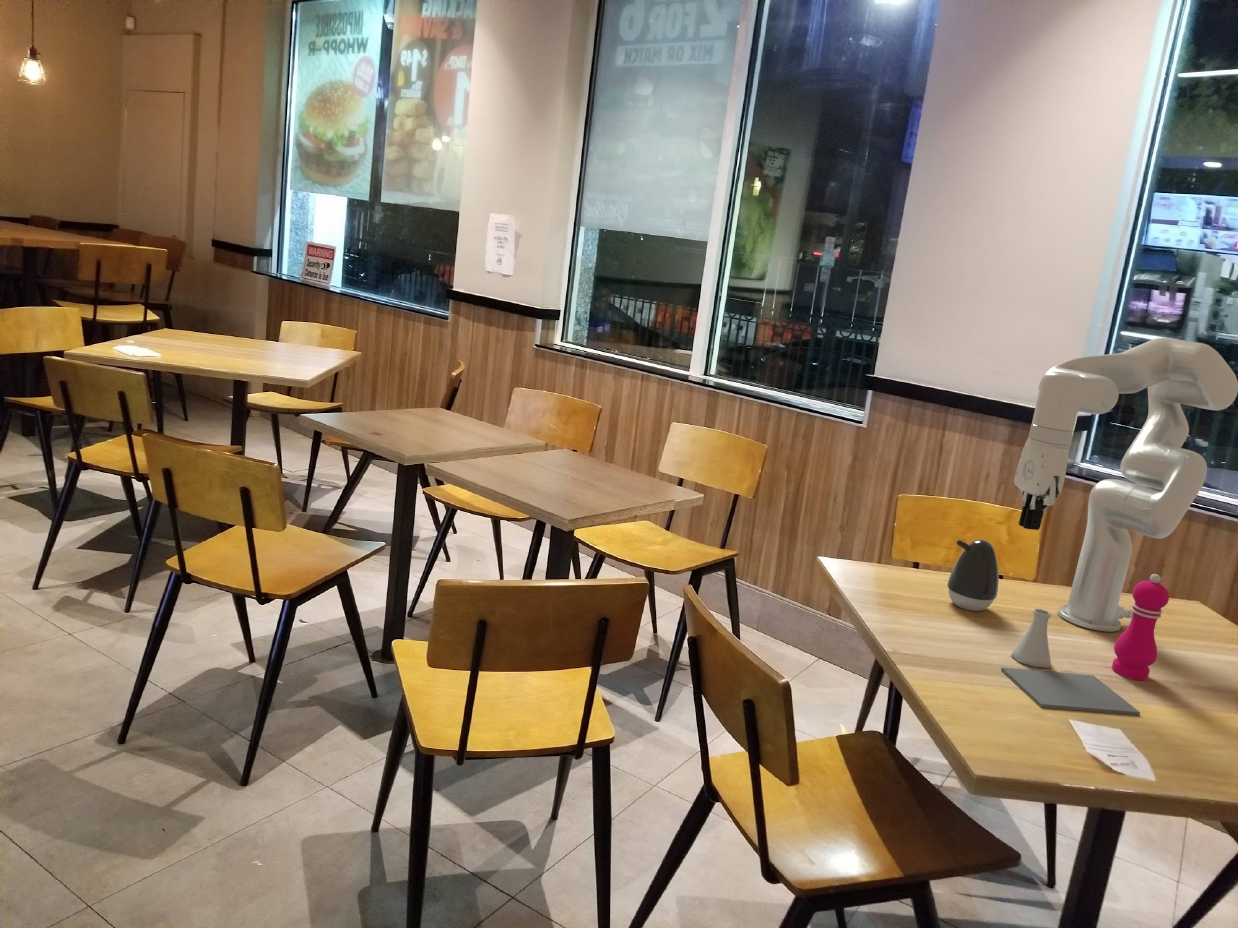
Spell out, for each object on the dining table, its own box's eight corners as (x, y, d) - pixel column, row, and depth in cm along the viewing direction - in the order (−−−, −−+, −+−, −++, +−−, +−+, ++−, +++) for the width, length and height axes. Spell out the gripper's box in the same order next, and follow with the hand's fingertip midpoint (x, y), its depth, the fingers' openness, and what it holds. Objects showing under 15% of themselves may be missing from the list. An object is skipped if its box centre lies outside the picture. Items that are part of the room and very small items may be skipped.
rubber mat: (1092, 678, 176) (1093, 675, 176) (1139, 715, 163) (1140, 712, 163) (1001, 670, 174) (1001, 667, 174) (1040, 707, 161) (1041, 703, 161)
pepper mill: (1146, 670, 184) (1173, 573, 179) (1153, 685, 177) (1182, 584, 173) (1106, 661, 186) (1131, 564, 181) (1111, 675, 179) (1138, 575, 175)
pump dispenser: (938, 594, 213) (953, 529, 209) (986, 602, 212) (1001, 537, 208) (947, 610, 203) (962, 542, 200) (997, 619, 202) (1013, 551, 198)
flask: (1054, 672, 177) (1067, 622, 175) (1014, 664, 178) (1026, 614, 176) (1046, 656, 184) (1058, 608, 182) (1007, 649, 185) (1018, 601, 183)
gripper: (1012, 426, 190) (992, 514, 194) (1053, 442, 175) (1030, 537, 179) (1047, 430, 190) (1027, 518, 195) (1091, 447, 176) (1067, 541, 180)
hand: (1028, 527), depth 187 cm, fingers closed
